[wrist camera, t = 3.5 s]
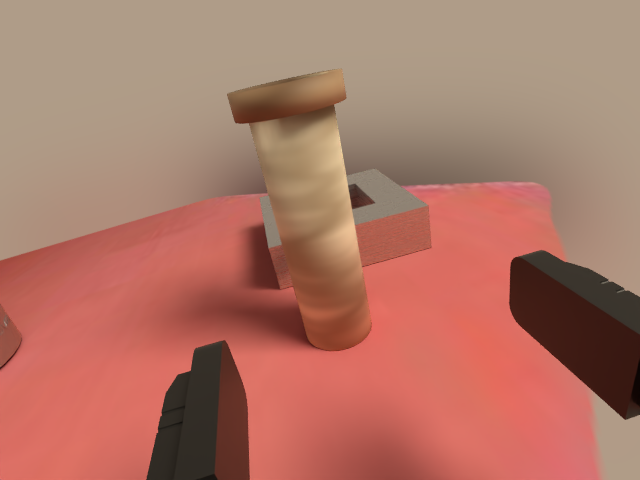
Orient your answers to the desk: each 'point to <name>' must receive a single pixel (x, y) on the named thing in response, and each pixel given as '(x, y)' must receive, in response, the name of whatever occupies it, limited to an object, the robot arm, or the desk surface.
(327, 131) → the wooden pin
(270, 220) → the socket block
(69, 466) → the desk surface
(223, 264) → the desk surface
